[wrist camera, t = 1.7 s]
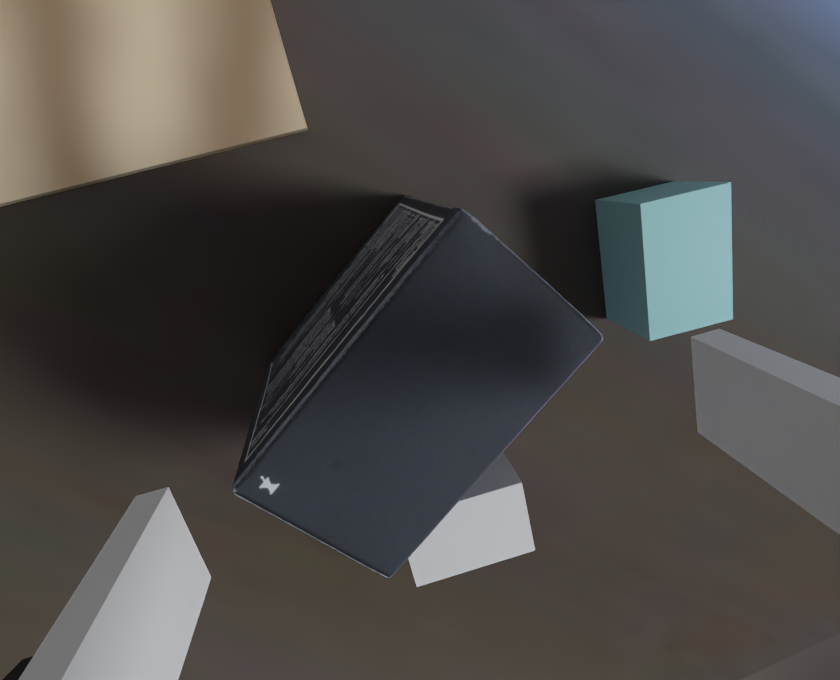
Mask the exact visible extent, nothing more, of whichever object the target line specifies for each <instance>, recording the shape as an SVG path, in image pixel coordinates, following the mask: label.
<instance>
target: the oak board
mask: <svg viewBox="0 0 840 680" xmlns="http://www.w3.org/2000/svg"><path fill="white" fill-rule="evenodd" d="M304 131H308V128H307V125H306V122H305V118H304V115H303V111H302V108H301V104H300V101H299V98H298V94H297V91H296V87H295V84H294V80H293V77H292V73H291V70H290V67H289V63H288V60H287V56H286V53H285V49H284V46H283V42H282V39H281V36H280V32H279V29H278V25H277V22H276V18H275V15H274V12H273V8H272V5H271V1H270V0H0V207H2V206H6V205H10V204H14V203H18V202H22V201H26V200H30V199H34V198H38V197H42V196H46V195H50V194H54V193H58V192H62V191H66V190H70V189H74V188H78V187H83V186H87V185H91V184H95V183H99V182H103V181H107V180H111V179H115V178H119V177H123V176H127V175H131V174H135V173H139V172H143V171H147V170H151V169H155V168H159V167H163V166H167V165H171V164H175V163H179V162H183V161H187V160H191V159H195V158H199V157H203V156H207V155H211V154H215V153H219V152H223V151H227V150H232V149H236V148H240V147H244V146H248V145H252V144H256V143H260V142H264V141H268V140H272V139H276V138H280V137H284V136H288V135H292V134H296V133H300V132H304Z"/></svg>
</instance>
